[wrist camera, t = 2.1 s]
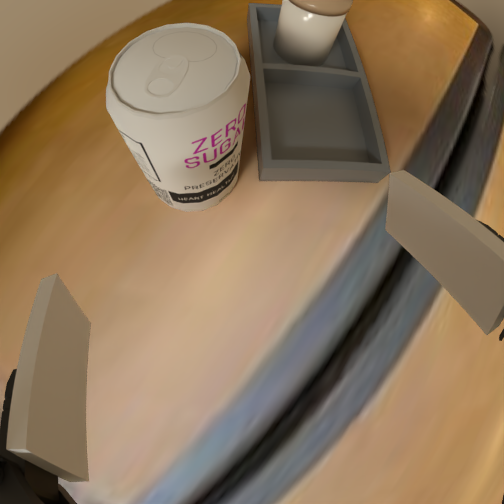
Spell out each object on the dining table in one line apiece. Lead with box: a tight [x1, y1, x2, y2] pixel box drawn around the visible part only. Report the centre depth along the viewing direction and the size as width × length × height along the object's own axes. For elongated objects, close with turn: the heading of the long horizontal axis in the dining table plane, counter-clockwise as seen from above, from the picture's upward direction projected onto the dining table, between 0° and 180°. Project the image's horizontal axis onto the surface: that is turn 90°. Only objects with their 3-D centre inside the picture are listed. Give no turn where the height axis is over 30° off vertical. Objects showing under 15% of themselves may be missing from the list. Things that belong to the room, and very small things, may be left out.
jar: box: [273, 0, 353, 67], centre depth 27 cm, size 7×7×9 cm
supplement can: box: [106, 23, 251, 212], centre depth 21 cm, size 8×8×15 cm
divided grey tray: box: [247, 3, 391, 183], centre depth 30 cm, size 12×23×3 cm, turn 3°
